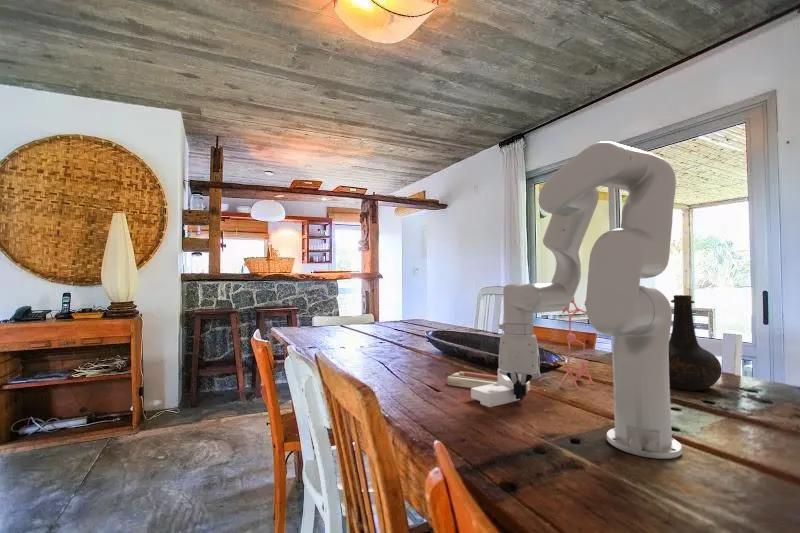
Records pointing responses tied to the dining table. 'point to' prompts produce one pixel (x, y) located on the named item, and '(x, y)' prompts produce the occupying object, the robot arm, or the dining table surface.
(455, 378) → the board
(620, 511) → the dining table surface
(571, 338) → the figurine
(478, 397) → the bracket
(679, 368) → the glass bottle
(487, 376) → the pencil
